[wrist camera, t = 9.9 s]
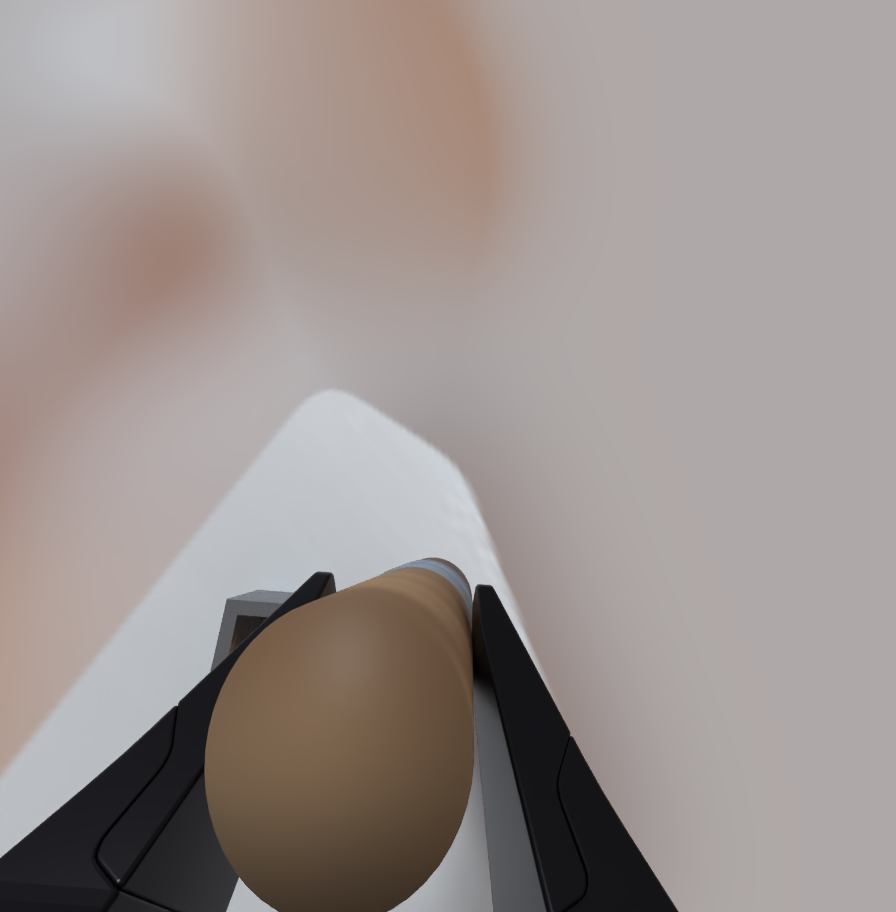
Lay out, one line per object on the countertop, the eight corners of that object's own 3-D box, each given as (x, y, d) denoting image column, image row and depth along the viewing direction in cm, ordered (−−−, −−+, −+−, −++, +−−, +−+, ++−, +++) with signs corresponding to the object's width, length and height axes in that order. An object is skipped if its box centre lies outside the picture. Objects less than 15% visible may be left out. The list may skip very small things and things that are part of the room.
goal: (300, 737, 18) (274, 775, 15) (228, 732, 18) (188, 769, 15) (323, 595, 20) (303, 605, 17) (257, 590, 20) (227, 598, 17)
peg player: (471, 647, 14) (470, 955, 4) (388, 640, 15) (167, 904, 4) (474, 559, 15) (483, 603, 5) (396, 553, 16) (235, 583, 5)
